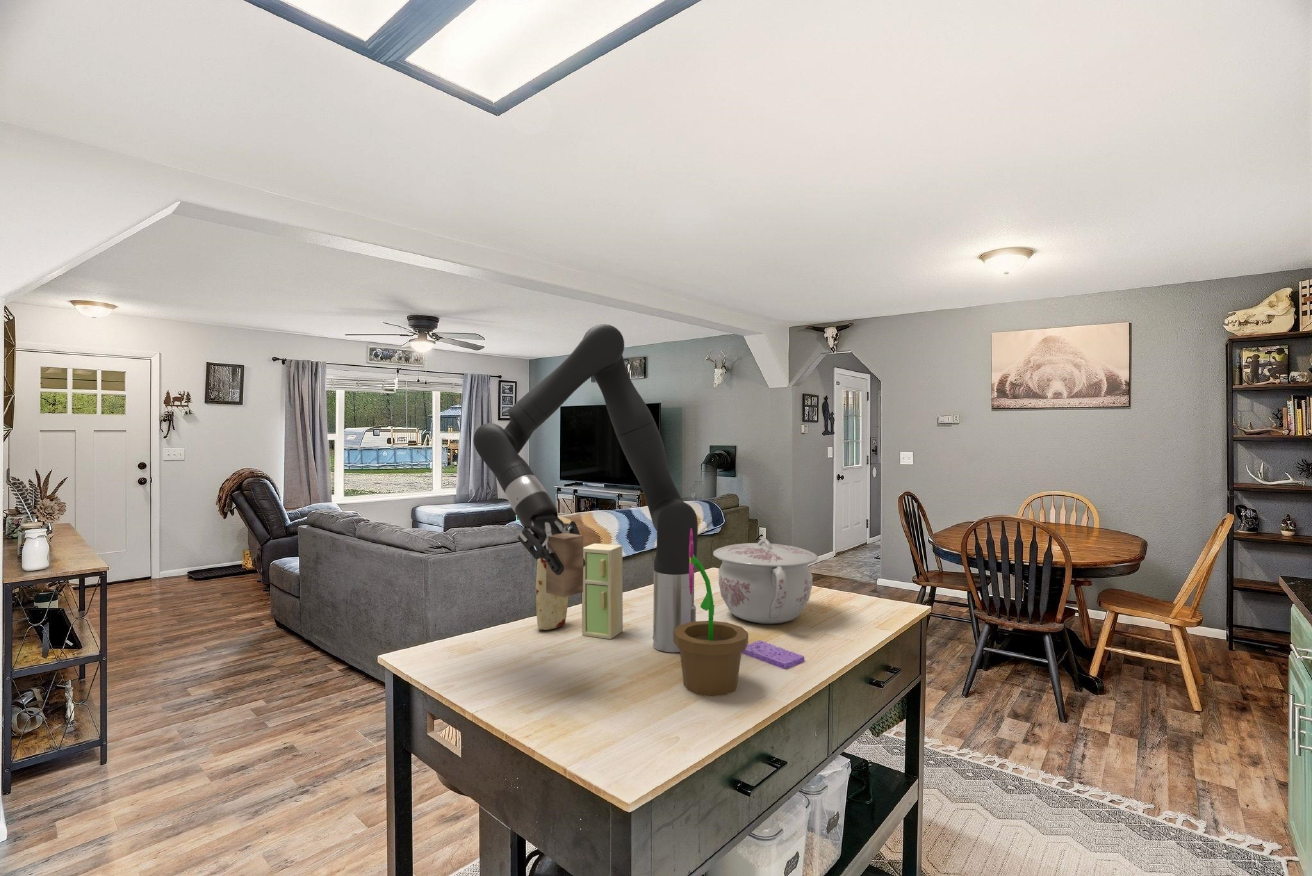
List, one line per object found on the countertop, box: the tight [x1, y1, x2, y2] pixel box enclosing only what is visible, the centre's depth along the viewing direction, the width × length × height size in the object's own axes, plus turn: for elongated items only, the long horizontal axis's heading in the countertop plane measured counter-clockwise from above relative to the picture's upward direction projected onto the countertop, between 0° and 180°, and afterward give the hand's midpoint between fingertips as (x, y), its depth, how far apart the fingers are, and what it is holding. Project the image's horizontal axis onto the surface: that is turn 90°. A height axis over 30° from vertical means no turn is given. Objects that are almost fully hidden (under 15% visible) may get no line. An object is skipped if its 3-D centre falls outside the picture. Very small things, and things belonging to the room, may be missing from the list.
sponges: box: [741, 639, 805, 670], centre depth 135 cm, size 7×13×2 cm, turn 40°
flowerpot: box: [673, 528, 749, 697], centre depth 119 cm, size 14×14×30 cm
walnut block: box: [546, 533, 584, 597], centre depth 120 cm, size 5×5×11 cm
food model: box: [535, 558, 570, 631], centre depth 153 cm, size 10×7×20 cm
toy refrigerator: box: [581, 543, 624, 640], centre depth 149 cm, size 8×7×21 cm
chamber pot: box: [712, 538, 819, 625], centre depth 164 cm, size 28×28×21 cm
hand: (571, 569), depth 119 cm, fingers closed on walnut block, 5 cm apart
